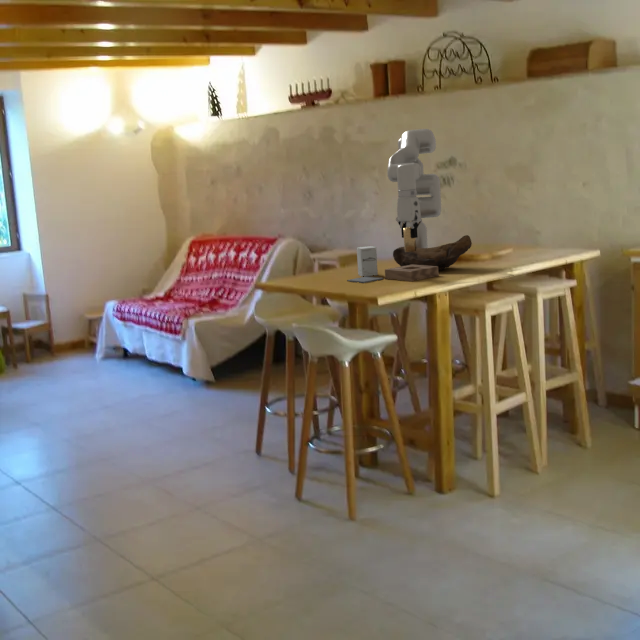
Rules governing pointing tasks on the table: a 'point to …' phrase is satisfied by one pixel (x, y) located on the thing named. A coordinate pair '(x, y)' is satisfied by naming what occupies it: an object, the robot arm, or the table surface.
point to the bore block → (411, 272)
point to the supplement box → (367, 261)
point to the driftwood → (433, 254)
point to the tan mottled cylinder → (409, 240)
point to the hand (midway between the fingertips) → (409, 237)
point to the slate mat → (365, 279)
